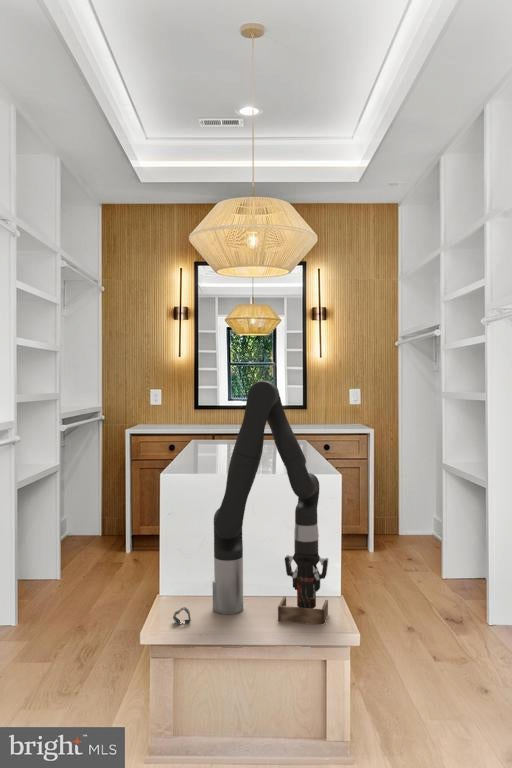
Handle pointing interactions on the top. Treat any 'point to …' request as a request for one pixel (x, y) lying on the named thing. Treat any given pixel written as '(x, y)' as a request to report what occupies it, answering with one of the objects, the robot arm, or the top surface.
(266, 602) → the top surface
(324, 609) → the wooden u-shaped frame
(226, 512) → the robot arm
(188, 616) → the wristwatch
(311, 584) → the deodorant
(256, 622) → the top surface
